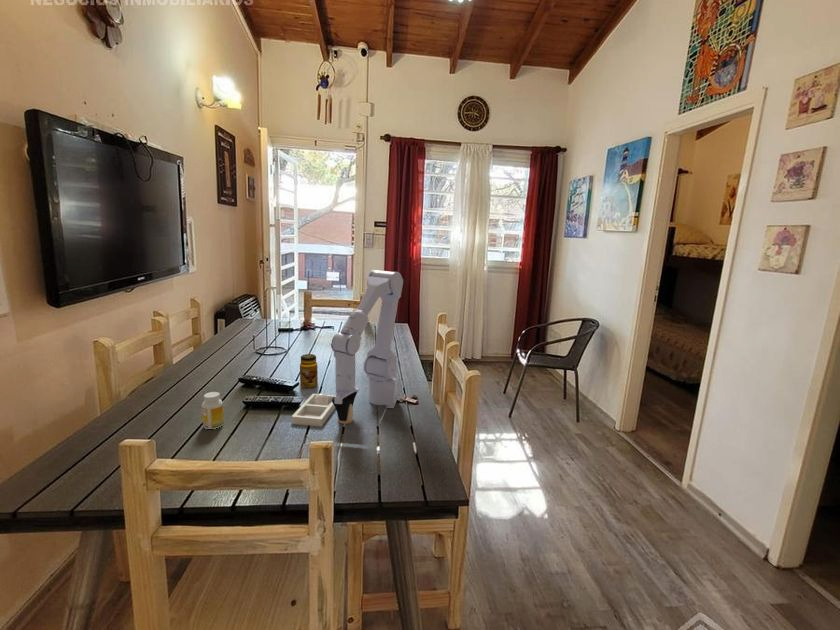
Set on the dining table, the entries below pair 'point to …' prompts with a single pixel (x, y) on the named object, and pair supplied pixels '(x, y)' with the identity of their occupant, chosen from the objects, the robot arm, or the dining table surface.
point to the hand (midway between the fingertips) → (345, 416)
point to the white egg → (321, 399)
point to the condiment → (308, 371)
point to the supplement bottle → (212, 411)
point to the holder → (313, 412)
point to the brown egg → (350, 416)
